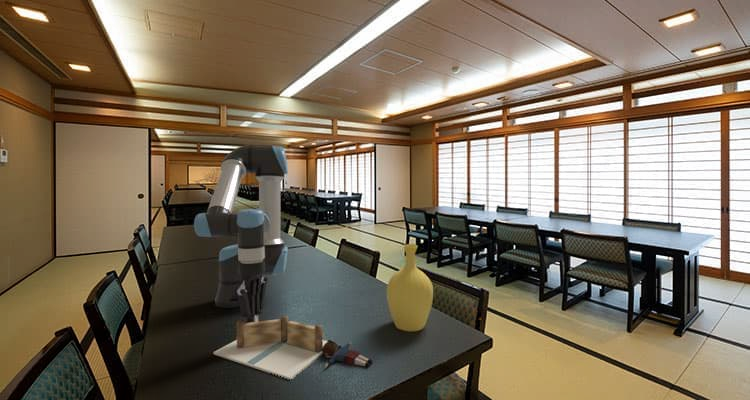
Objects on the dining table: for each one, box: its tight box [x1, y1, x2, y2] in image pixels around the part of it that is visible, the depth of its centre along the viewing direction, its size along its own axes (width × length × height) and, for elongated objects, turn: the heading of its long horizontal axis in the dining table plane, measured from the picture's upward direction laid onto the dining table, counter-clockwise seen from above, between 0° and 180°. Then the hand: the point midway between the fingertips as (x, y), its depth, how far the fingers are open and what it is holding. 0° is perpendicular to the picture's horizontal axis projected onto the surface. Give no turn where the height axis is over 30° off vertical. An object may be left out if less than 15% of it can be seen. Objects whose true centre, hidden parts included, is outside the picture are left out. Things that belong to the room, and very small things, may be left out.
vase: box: [386, 243, 434, 332], centre depth 113 cm, size 16×16×28 cm
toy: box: [322, 339, 373, 369], centre depth 91 cm, size 14×5×15 cm
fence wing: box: [236, 315, 289, 348], centre depth 98 cm, size 15×2×7 cm, turn 108°
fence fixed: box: [288, 320, 324, 352], centre depth 97 cm, size 12×2×7 cm, turn 65°
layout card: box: [212, 339, 328, 381], centre depth 97 cm, size 28×20×1 cm
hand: (253, 336), depth 100 cm, fingers closed
